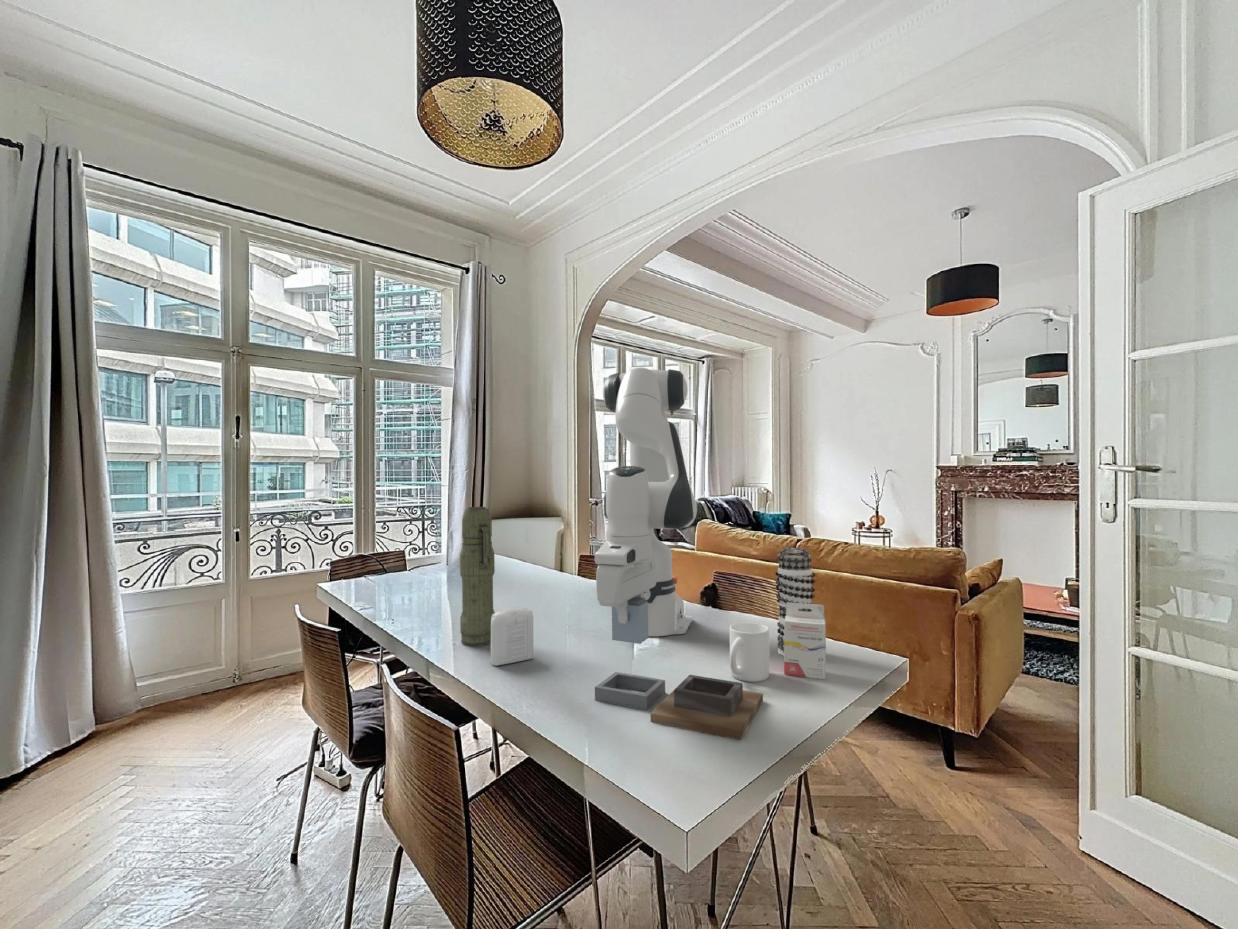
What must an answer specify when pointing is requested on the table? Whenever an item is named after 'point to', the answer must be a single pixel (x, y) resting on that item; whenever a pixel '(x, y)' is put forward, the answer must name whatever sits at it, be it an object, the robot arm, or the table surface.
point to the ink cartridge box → (805, 641)
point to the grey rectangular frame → (629, 698)
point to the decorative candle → (793, 584)
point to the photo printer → (511, 636)
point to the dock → (709, 707)
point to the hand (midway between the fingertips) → (630, 619)
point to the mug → (749, 652)
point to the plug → (632, 622)
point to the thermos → (476, 576)
